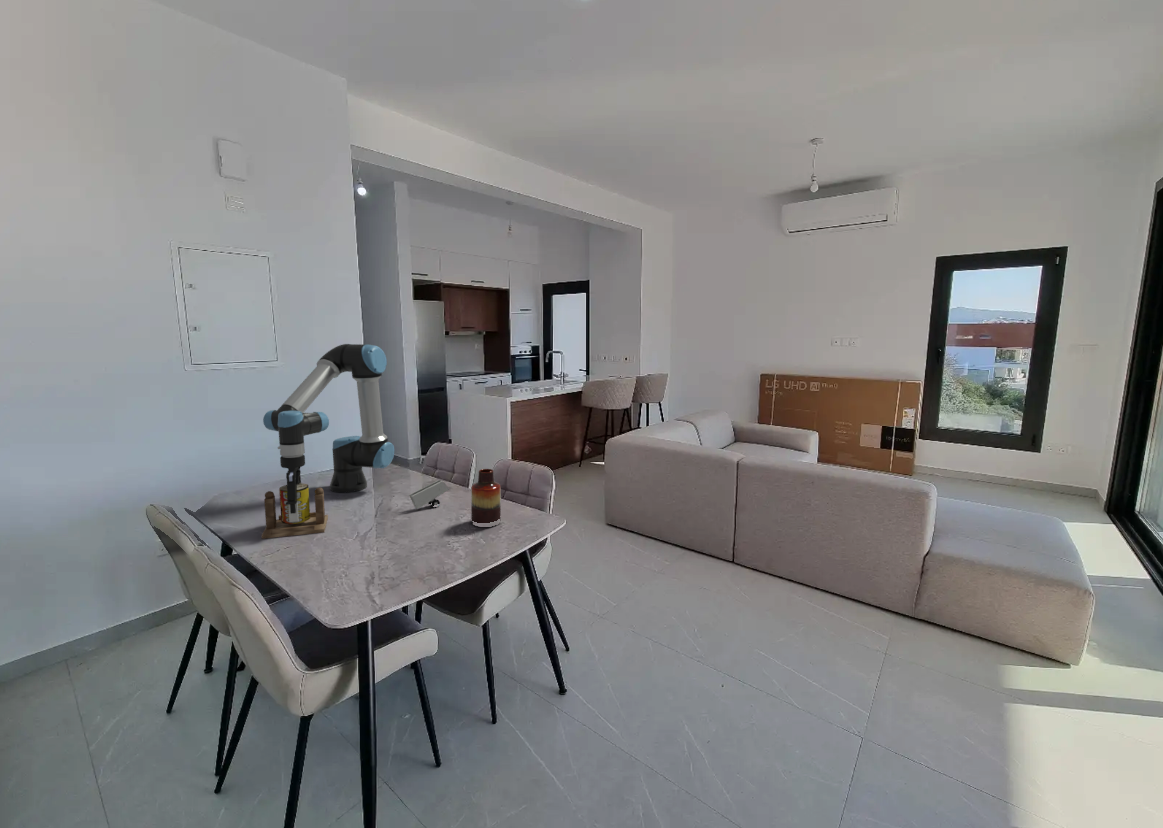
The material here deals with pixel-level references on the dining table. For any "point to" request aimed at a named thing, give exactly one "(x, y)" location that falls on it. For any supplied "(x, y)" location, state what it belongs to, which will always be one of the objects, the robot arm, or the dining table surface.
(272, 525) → the knobbed wooden cradle
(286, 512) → the beverage can
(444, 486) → the grey toy trailer
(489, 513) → the vase
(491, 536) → the dining table surface
